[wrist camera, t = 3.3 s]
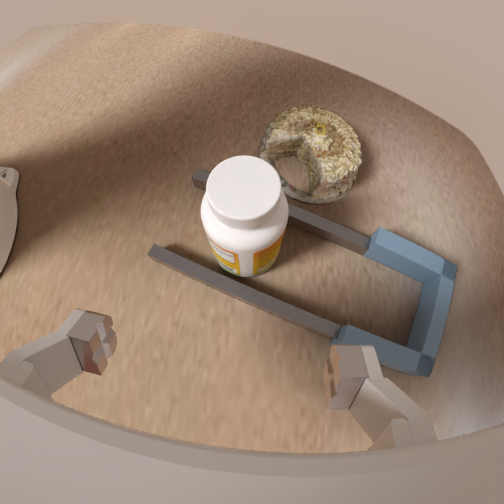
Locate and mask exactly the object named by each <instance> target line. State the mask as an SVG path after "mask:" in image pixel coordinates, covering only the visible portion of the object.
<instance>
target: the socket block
mask: <svg viewBox="0 0 504 504" xmlns="http://www.w3.org/2000/svg"><path fill="white" fill-rule="evenodd" d="M369 238H371V243H370V246H369V249H368V250H367V251H366V252H365V253H364V254H363V256H365V257H367V258H370V259H372V260H374V261H376V262H378V263H381V264H383V265H385V266H387V267H389V268H392V269H394V270H396V271H398V272H400V273H402V274H405V275H407V276H409V277H411V278H413V279H415V280H417V281H419V282H422V283H424V285H423V289H422V293H421V297H420V301H419V305H418V308H417V312H416V316H415V319H414V323H413V326H412V329H411V333H410V336H409V339H408V342H407V345H406V347H404V346H402V345H399V344H397V343H394V342H392V341H389V340H386V339H384V338H381V337H379V336H376V335H374V334H371V333H369V332H366V331H364V330H361V329H359V328H356V327H354V326H351V325H349V324H348V325H345V326H342V329H341V331H340V334H339V336H338V339H332V342H331V344H330V345H331V346H332V345H333V344H338V345H372V346H373V347H374V349H375V352H376V355H377V358H378V361H379V364H381V365H384V366H386V367H389V368H392V369H395V370H398V371H400V372H403V373H406V374H409V375H413V376H424V377H430V375H431V372H432V369H433V366H434V362H435V359H436V356H437V353H438V349H439V346H440V342H441V339H442V335H443V331H444V328H445V324H446V320H447V315H448V311H449V307H450V302H451V298H452V293H453V288H454V282H455V277H456V271H457V265H455V264H453V263H451V262H449V261H448V260H446V259H444V258H442V257H440V256H438V255H436V254H434V253H432V252H430V251H428V250H426V249H424V248H423V247H421V246H419V245H417V244H415V243H413V242H411V241H408V240H406V239H404V238H402V237H400V236H398V235H396V234H394V233H392V232H390V231H388V230H386V229H384V228H381V227H379V228H378V229H377V230H376V231H375V232H374V233H373V234H372V235H371V236H370V237H369Z"/></svg>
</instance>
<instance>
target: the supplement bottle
mask: <svg viewBox="0 0 504 504" xmlns="http://www.w3.org/2000/svg"><path fill="white" fill-rule="evenodd" d="M201 219H202V223H203V227H204V229H205V232H206V235H207V237H208V240H209V243H210V246H211V248H212V251H213V254H214V256H215V258H216V260H217V262H218V263H219V264H220V266H221V267H222V268H223V269H224V270H226V271H227V272H229V273H231V274H233V275H236V276H240V277H252V276H256V275H259V274H261V273H263V272H265V271H266V270H267V269H269V268H270V267H271V266H272V265H273V263H274V262H275V260H276V258H277V256H278V253H279V250H280V247H281V243H282V239H283V236H284V232H285V229H286V225H287V221H288V203H287V199H286V197H285V194H284V193H283V191H282V186H281V180H280V177H279V175H278V173H277V171H276V170H275V169H274V168H273V167H272V166H271V165H270V164H269V163H268V162H266V161H264V160H262V159H260V158H257V157H254V156H246V155H242V156H235V157H231V158H229V159H226V160H224V161H222V162H221V163H219V164H218V165H217V166H216V167H215V168H214V169H213V170H212V172H211V173H210V175H209V177H208V180H207V184H206V193H205V195H204V197H203V200H202V204H201Z"/></svg>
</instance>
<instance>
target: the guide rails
mask: <svg viewBox="0 0 504 504" xmlns="http://www.w3.org/2000/svg"><path fill="white" fill-rule="evenodd" d="M209 175H210V173H209V172H206V171H203V170H200V169H197V170H196V172H195V174H194V175H193V177H192V179H193V182H194V185H195V187H198V188H201V189H203V190H206V184H207V180H208V177H209ZM287 223H289V224H291V225H293V226H296V227H298V228H301V229H303V230H305V231H308V232H310V233H312V234H315V235H317V236H319V237H322V238H324V239H326V240H329V241H331V242H333V243H336V244H338V245H340V246H343V247H345V248H347V249H349V250H352V251H354V252H356V253H358V254H361V255H363V254H364V253H365V252H366V251H367V250H368V249H369V246H370V243H371V238H368V237H366V236H364V235H362V234H360V233H357V232H355V231H353V230H351V229H348V228H346V227H344V226H342V225H339V224H337V223H335V222H332V221H330V220H328V219H325V218H323V217H321V216H318V215H316V214H314V213H311V212H309V211H306V210H304V209H302V208H299V207H297V206H294V205H292V204H289V203H288V221H287ZM148 255H149V256H150V257H151V258H152V259H153V260H154V261H156V262H159V263H161V264H163V265H165V266H167V267H169V268H171V269H173V270H175V271H177V272H179V273H181V274H183V275H186V276H188V277H190V278H192V279H194V280H196V281H198V282H201V283H203V284H205V285H207V286H209V287H211V288H214V289H216V290H218V291H220V292H222V293H224V294H227V295H229V296H231V297H233V298H236V299H238V300H240V301H242V302H245V303H247V304H249V305H251V306H254V307H256V308H258V309H261V310H263V311H265V312H268V313H270V314H272V315H275V316H277V317H279V318H282V319H284V320H286V321H289V322H291V323H293V324H296V325H298V326H301V327H303V328H306V329H308V330H310V331H313V332H315V333H318V334H320V335H323V336H325V337H328V338H330V339H338V336H339V334H340V331H341V329H342V326H341V325H339V324H336V323H334V322H331V321H329V320H326V319H324V318H321V317H319V316H317V315H314V314H312V313H309V312H307V311H305V310H302V309H300V308H297V307H295V306H293V305H290V304H288V303H286V302H283V301H281V300H279V299H276V298H274V297H272V296H269V295H267V294H265V293H262V292H260V291H258V290H255V289H253V288H251V287H249V286H246V285H244V284H242V283H239V282H237V281H235V280H233V279H230V278H228V277H226V276H224V275H221V274H219V273H217V272H215V271H212V270H210V269H208V268H206V267H204V266H201V265H199V264H197V263H195V262H193V261H190V260H188V259H186V258H184V257H182V256H180V255H177V254H175V253H173V252H171V251H169V250H167V249H164V248H162V247H160V246H158V245H156V244H153V246H152V248H151V250H150V252H149V253H148Z"/></svg>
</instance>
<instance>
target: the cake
mask: <svg viewBox="0 0 504 504" xmlns="http://www.w3.org/2000/svg"><path fill="white" fill-rule="evenodd" d="M291 155H296V156H297V160H299V162H301V163H303V164H306V165H307V167H308V174H309V175H308V176H309V180H310V181H309V184H310V189H309V191H310V193H309V194H308V193H305V192H303V191H300V190H298V189H296V188H295V187H293V186H292V185H290V184H289V183H288V182H287V181H286V180H285V179H284V178H283V177H282V176H281V175H280V173H279V171H277V169H276V166H275V163H274V160H277V159H279V158H285V157H291ZM361 156H362V149H361V143H360V141H358V136H357V135H356V133H355V132H354V129H353V128H352V126H349V125H348V124H347V123H346V121H345V120H344V119H343V118H342V117H341V116H339V115H337V114H335V113H334V112H332V111H328V110H327V109H326V110H325V109H323V108H322V109H321V108H320V107H315V106H314V104H313V105H311V106H310V105H307V106H303V105H300V107H292V108H290V109H288V110H287V111H285V110H284V111H283V112H281V113H280V114H279V115H277V118H276V117H275V118H274V120H273V123H271V124H270V126H268V129H267V130H266V133H265V136H264V138H263V140H262V141H261V146H260V147H259V158H260V159H262V160H264V161H266V162H268V163H269V164H270V165H271V166H272V167H273V168H274V169H275V170H276V171H277V173H278V175H279V177H280V180H281V186H282V191H283V193H286V194H287V195H288V196H290V197H291V198H295V199H297V200H299V201H303V202H306V203H316V204H322V203H327V204H328V203H330V202H336V201H338V200H339V199H341V198H343V197H344V196H345V195H346V193H347V192H346V190H347V189H348V190H349V189H350V188H351V186H352V184H353V182H352V181H355V179H356V176H357V175H356V174H357V173H358V169H359V166H360V164H362V159H361V158H362V157H361ZM352 188H353V187H352ZM340 194H342V195H340ZM347 194H348V193H347ZM338 196H341V197H338Z"/></svg>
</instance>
